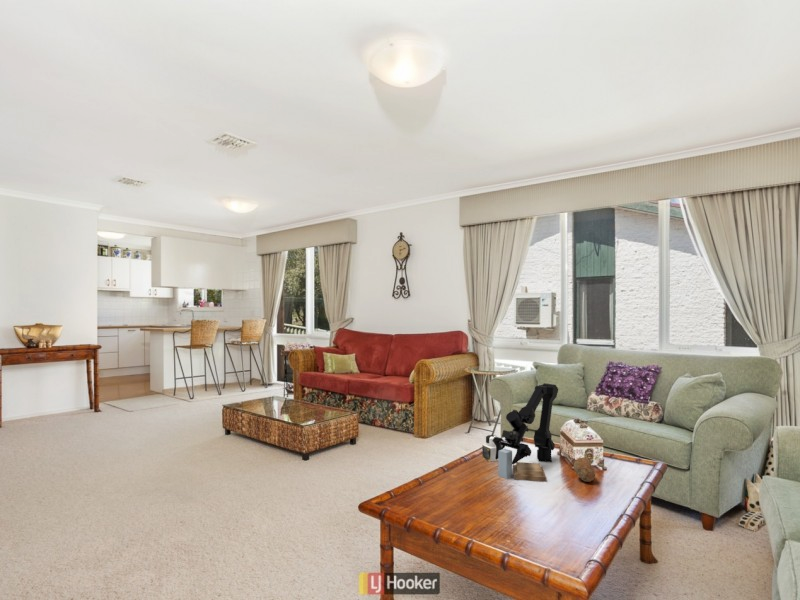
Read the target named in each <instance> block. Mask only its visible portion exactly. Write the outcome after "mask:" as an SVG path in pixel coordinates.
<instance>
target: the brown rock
mask: <svg viewBox="0 0 800 600" xmlns="http://www.w3.org/2000/svg"><path fill="white" fill-rule="evenodd" d="M573 469H574V472H575V474H576V475H577V476H578V477H579V478H580V480H582V481H583V482H588V483H590V482H592V481H594V479H595V477H596V471H595V469H594V467H593V466H592V463H591V462H590V460H589V459H588V458H586V457H585V456H584V457H580V458H577V459H575V461H574V463H573Z"/></svg>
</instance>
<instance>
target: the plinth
mask: <svg viewBox="0 0 800 600" xmlns="http://www.w3.org/2000/svg"><path fill="white" fill-rule="evenodd" d="M512 474H513V480H515V481H517V480H518V481H528V482H529V481H531V482H544V483H547V476H546V473H545V470H544V468H543V466H542V465H541V464H540V463H537V462H523V461H522V462H521V461H518V462H516V463H515V464H514V465H513V464H512Z"/></svg>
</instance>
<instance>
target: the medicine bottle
mask: <svg viewBox="0 0 800 600" xmlns="http://www.w3.org/2000/svg"><path fill="white" fill-rule="evenodd" d="M494 437H498V436H497V435H494V434H488V435H486V436H485V443H484V444H482V459H484V460H486V461H488V462H491V461H492V462H498V461H497V460H498V459H496V458H495V457H496V445H495V444H494V442H493V441H492V440H493V438H494ZM492 462H491V463H492Z"/></svg>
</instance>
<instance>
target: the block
mask: <svg viewBox="0 0 800 600" xmlns="http://www.w3.org/2000/svg"><path fill="white" fill-rule="evenodd" d="M512 461H513V450H510V449H508V448H507V449H506V448H503V449H502V450H499V451H498V461H497V462H498V473H497V474H498V477H499V478H502V479H505V480H508V479H511V478H512V477H513V464H512Z"/></svg>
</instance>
